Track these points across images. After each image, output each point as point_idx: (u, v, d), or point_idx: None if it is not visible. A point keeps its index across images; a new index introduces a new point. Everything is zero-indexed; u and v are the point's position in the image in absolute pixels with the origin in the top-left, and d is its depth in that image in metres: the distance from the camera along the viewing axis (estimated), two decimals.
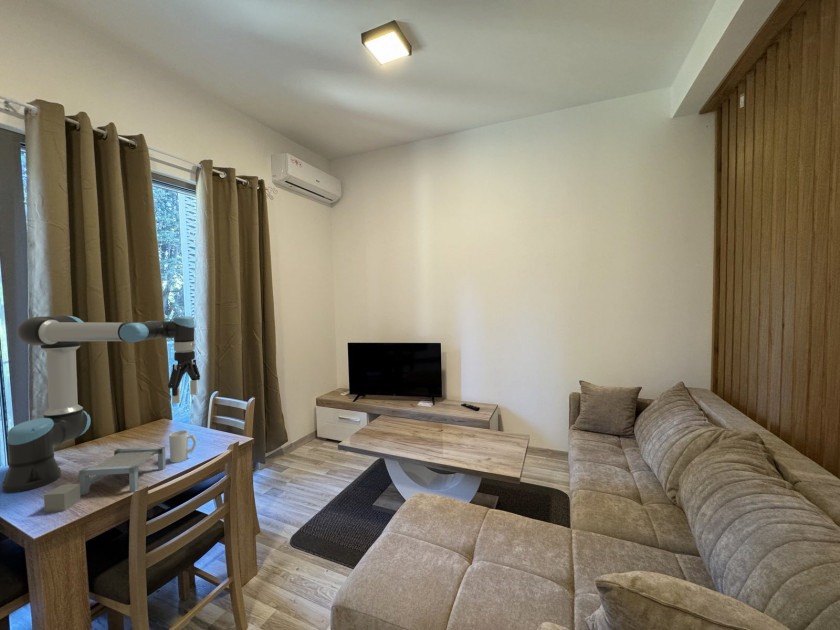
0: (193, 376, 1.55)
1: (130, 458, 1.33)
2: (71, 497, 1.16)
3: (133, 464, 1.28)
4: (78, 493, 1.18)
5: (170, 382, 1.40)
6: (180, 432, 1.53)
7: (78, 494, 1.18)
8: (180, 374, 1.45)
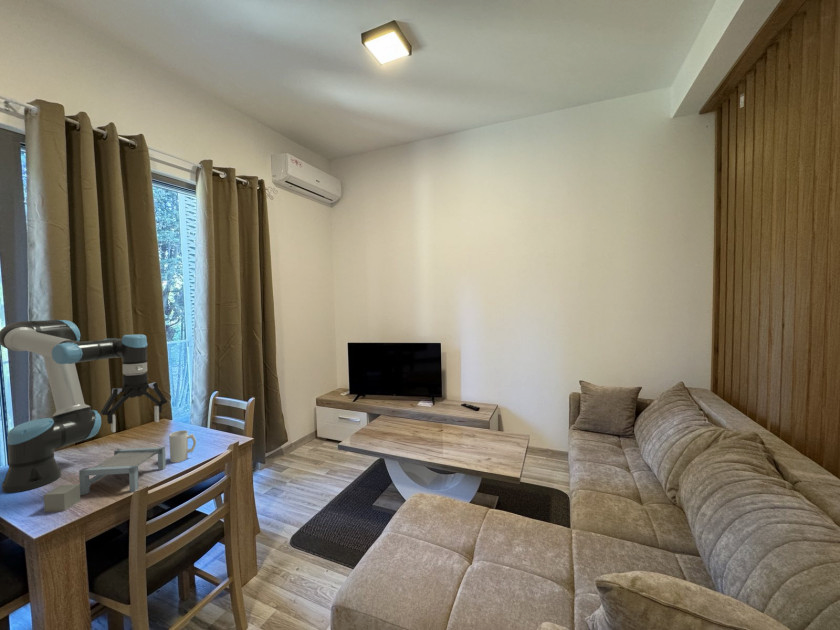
0: (153, 401, 1.38)
1: (130, 459, 1.33)
2: (71, 497, 1.16)
3: (133, 465, 1.28)
4: (78, 493, 1.18)
5: (103, 408, 1.26)
6: (180, 432, 1.53)
7: (78, 494, 1.18)
8: (120, 400, 1.29)
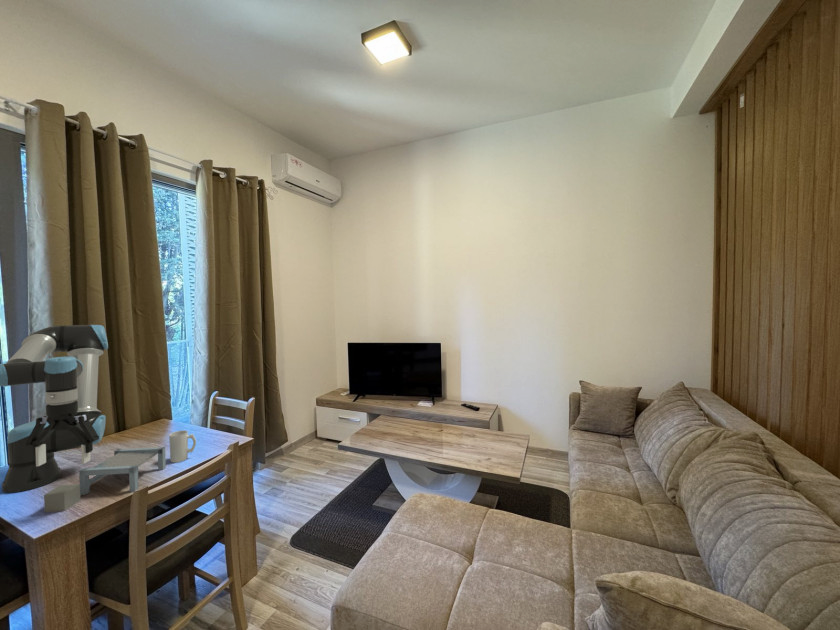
0: None
1: (130, 459, 1.33)
2: (71, 497, 1.16)
3: None
4: (78, 493, 1.18)
5: None
6: (180, 432, 1.53)
7: (78, 494, 1.18)
8: None
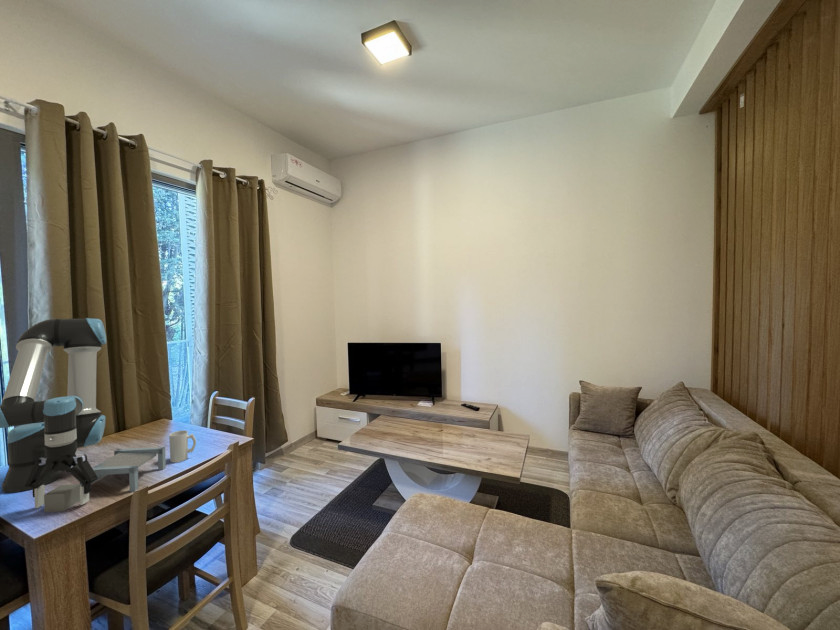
0: None
1: (130, 460, 1.33)
2: (71, 497, 1.16)
3: None
4: (78, 493, 1.18)
5: None
6: (180, 432, 1.53)
7: (78, 494, 1.18)
8: None
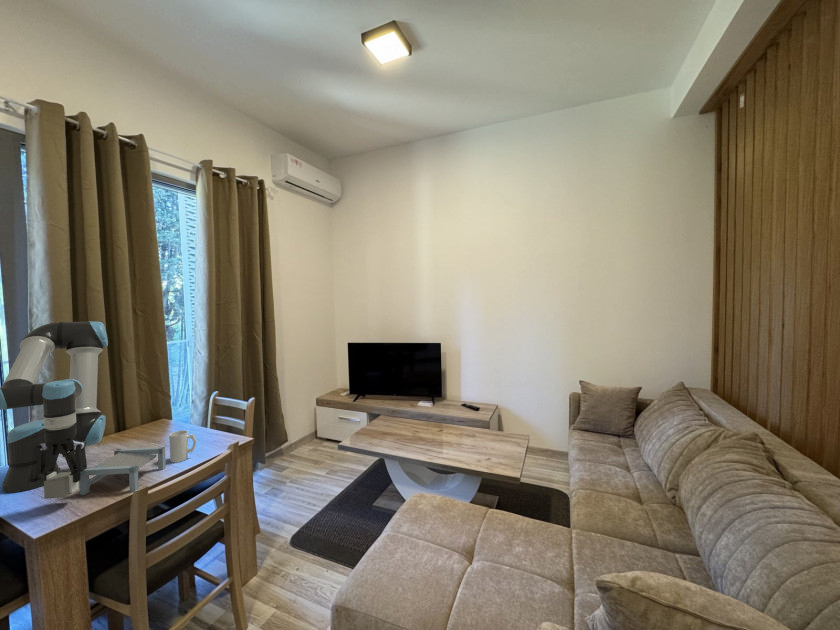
0: None
1: (130, 461, 1.33)
2: None
3: None
4: None
5: None
6: (180, 432, 1.53)
7: None
8: None
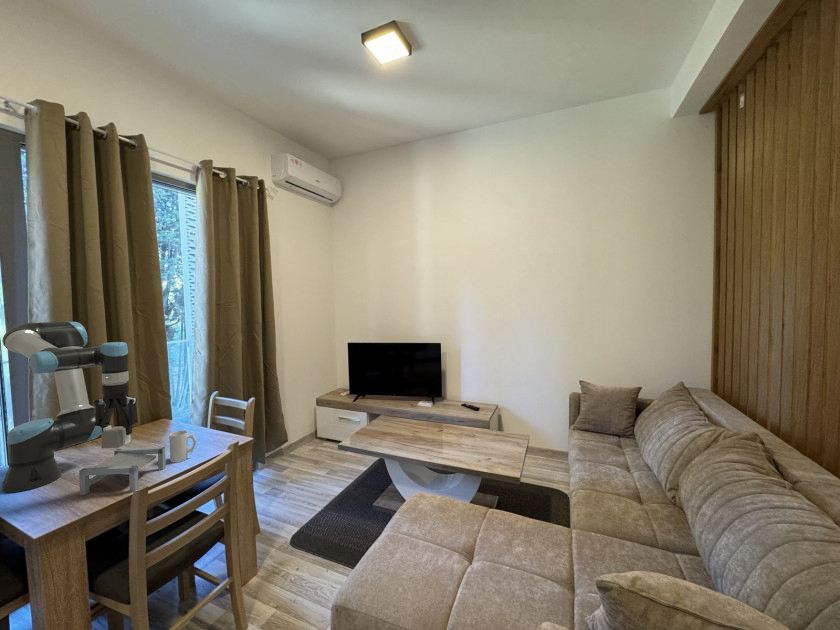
0: None
1: (130, 461, 1.33)
2: None
3: None
4: (130, 434, 1.30)
5: None
6: (180, 432, 1.53)
7: None
8: None
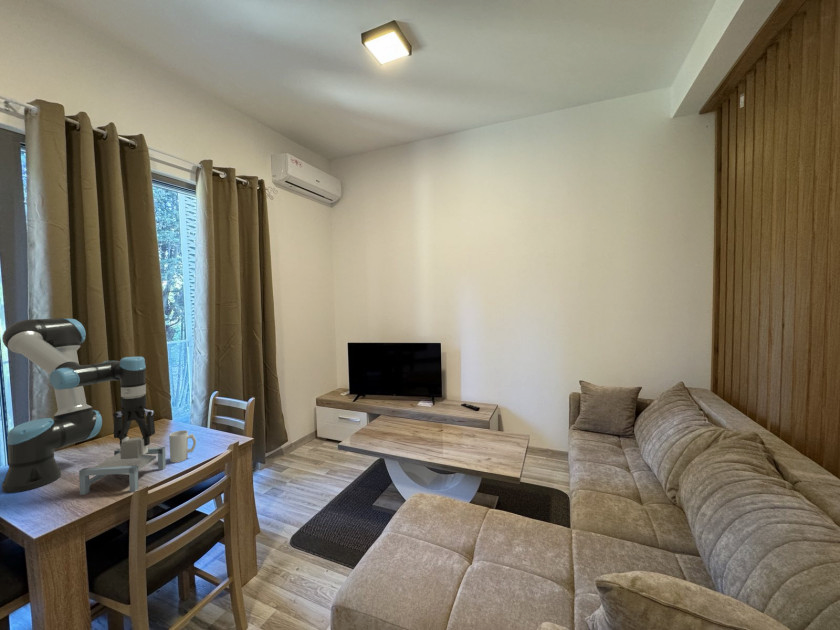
0: None
1: (130, 462, 1.33)
2: None
3: None
4: None
5: None
6: (180, 432, 1.53)
7: None
8: None
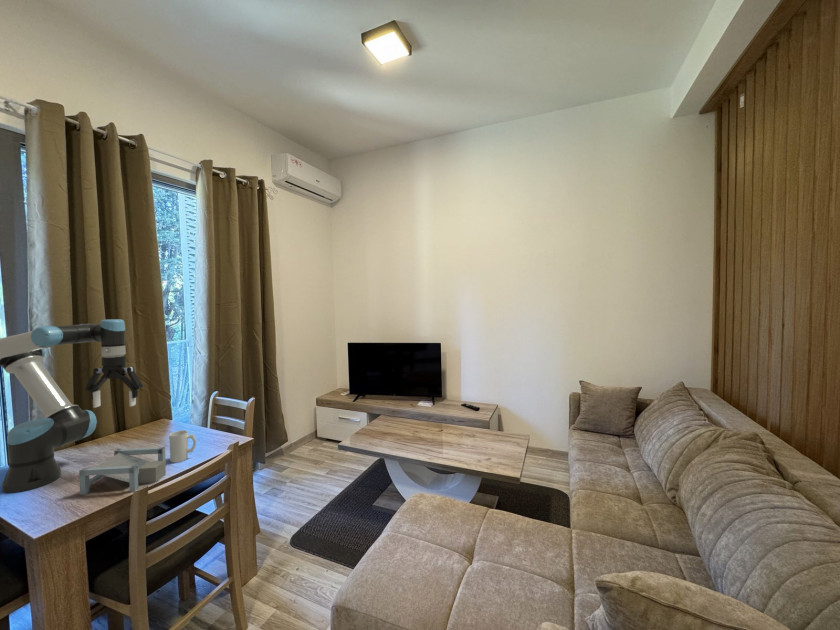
0: None
1: None
2: None
3: None
4: None
5: None
6: (180, 432, 1.53)
7: None
8: None
